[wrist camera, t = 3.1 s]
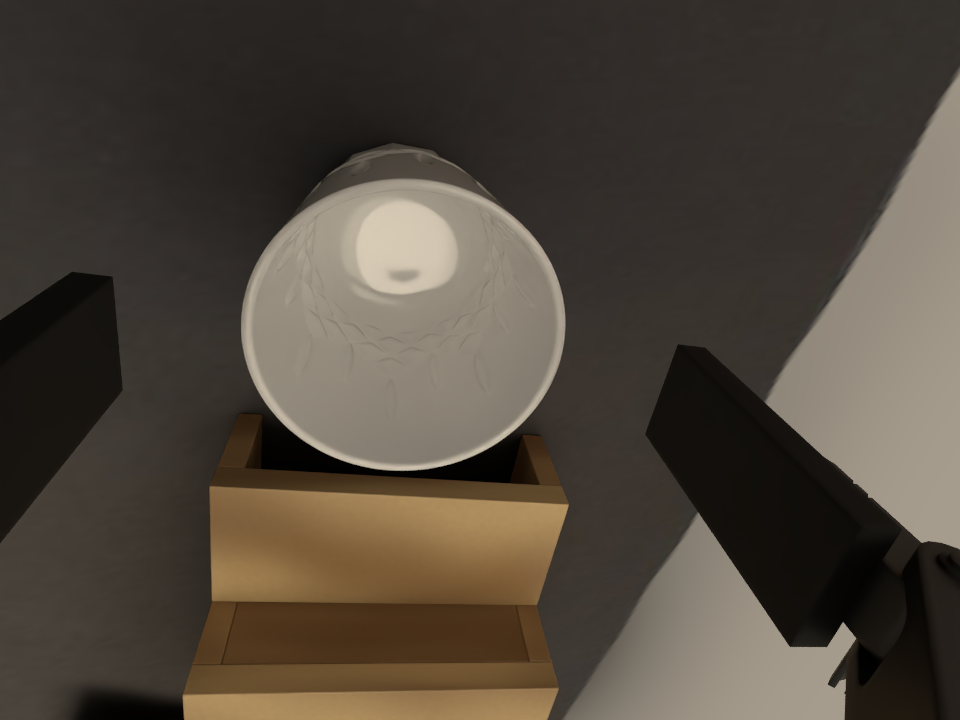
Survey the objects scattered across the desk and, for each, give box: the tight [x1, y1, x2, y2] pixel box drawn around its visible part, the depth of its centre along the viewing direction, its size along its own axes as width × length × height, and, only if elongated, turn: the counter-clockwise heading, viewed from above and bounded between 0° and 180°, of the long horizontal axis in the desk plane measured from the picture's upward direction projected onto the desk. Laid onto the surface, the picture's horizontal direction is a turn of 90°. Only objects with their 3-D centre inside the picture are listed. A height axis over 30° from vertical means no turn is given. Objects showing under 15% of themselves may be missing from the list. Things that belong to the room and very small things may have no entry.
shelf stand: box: [183, 413, 569, 720], centre depth 26 cm, size 18×14×11 cm
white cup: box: [241, 143, 565, 471], centre depth 19 cm, size 8×8×10 cm
